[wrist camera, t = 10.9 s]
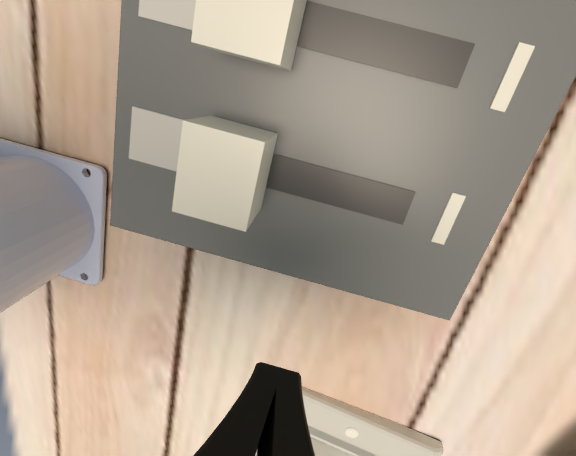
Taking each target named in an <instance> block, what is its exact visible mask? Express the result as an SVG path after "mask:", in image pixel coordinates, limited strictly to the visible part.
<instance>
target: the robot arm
mask: <svg viewBox="0 0 576 456" xmlns="http://www.w3.org/2000/svg"><path fill="white" fill-rule="evenodd" d="M87 169H89V170H90V172H91V176H90V175H89V174H88V173H87ZM106 185H107V173H106V171H105V169H104V168H103V167H101V166H99V165H96V164H92V163H88V162H85V161H81V160H77V159H74V158H70V157H66V156H63V155H59V154H56V153H52V152H48V151H45V150H41V149H37V148H34V147H30V146H27V145H23V144H19V143H16V142H12V141H8V140H5V139H1V138H0V313H1V312H2V311H4V310H5V309H7V308H8V307H10V306H11V305H13V304H14V303H16V302H17V301H19V300H20V299H22V298H24V297H25V296H27V295H28V294H30V293H31V292H33V291H34V290H36V289H37V288H39V287H40V286H42V285H43V284H45V283H47V282H48V281H50V280H51V279H53V278H54V277H56V276H57V275H59V276H62V277H66V278H69V279H73V280H76V281H80V282H83V283H87V284H90V285H97V284H99V283H100V282H101V281H102V275H103V253H104V230H105V208H106ZM85 274H86V275H87V276H88V277H87V276H86V275H85ZM256 452H257V456H315V453H314V450H313V446H312V441H311V437H310V433H309V428H308V424H307V419H306V414H305V408H304V402H303V395H302V386H301V376H300V374H299V373H297V372H294V371H290V370H287V369H283V368H280V367H276V366H273V365H269V364H266V363H262V362H260V363H257V364H256V366H255V369H254V371H253V374H252V376H251V378H250V379H249V381H248V383H247V385H246V386H245V388H244V390H243V391H242V393H241V395H240V396H239V398H238V399H237V401H236V402H235V403H234V405H233V406H232V408H231V409H230V411H229V412H228V414H227V415H226V416H225V418H224V419H223V420H222V422H221V423H220V424H219V425H218V427H217V428H216V429H215V430H214V432H213V433H212V434H211V435H210V437H209V438H208V439H207V440H206V442H205V443H204V444H203V445H202V446H201V448H200V449H199V450H198V451H197V452H196V453H195V454H194V456H255V455H256Z"/></svg>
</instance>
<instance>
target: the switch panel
mask: <svg viewBox="0 0 576 456" xmlns="http://www.w3.org/2000/svg"><path fill="white" fill-rule="evenodd" d="M195 4H196V0H122V4H121V24H120V43H119V63H118V82H117V102H116V121H115V141H114V161H113V180H112V200H111V219H110V225H111V226H114V227H118V228H122V229H125V230H129V231H132V232H136V233H139V234H143V235H147V236H150V237H154V238H157V239H161V240H164V241H168V242H172V243H175V244H179V245H182V246H186V247H189V248H193V249H197V250H200V251H204V252H207V253H211V254H214V255H218V256H222V257H225V258H229V259H232V260H236V261H239V262H243V263H247V264H250V265H254V266H257V267H261V268H264V269H268V270H272V271H275V272H279V273H282V274H286V275H289V276H293V277H297V278H300V279H304V280H307V281H311V282H314V283H318V284H321V285H325V286H329V287H332V288H336V289H339V290H343V291H346V292H350V293H354V294H357V295H361V296H364V297H368V298H371V299H375V300H379V301H382V302H386V303H389V304H393V305H396V306H400V307H404V308H407V309H411V310H414V311H418V312H421V313H425V314H429V315H432V316H436V317H439V318H443V319H446V320H450V318H451V317H452V315H453V313H454V311H455V309H456V307H457V305H458V303H459V301H460V299H461V297H462V295H463V293H464V291H465V289H466V287H467V285H468V284H469V282H470V280H471V278H472V276H473V274H474V272H475V270H476V268H477V266H478V264H479V262H480V260H481V258H482V256H483V254H484V253H485V251H486V249H487V247H488V245H489V243H490V241H491V239H492V237H493V235H494V233H495V231H496V229H497V227H498V225H499V223H500V221H501V220H502V218H503V216H504V214H505V212H506V210H507V208H508V206H509V204H510V202H511V200H512V198H513V196H514V194H515V192H516V190H517V188H518V187H519V185H520V183H521V181H522V179H523V177H524V175H525V173H526V171H527V169H528V167H529V165H530V163H531V161H532V159H533V157H534V155H535V154H536V152H537V150H538V148H539V146H540V144H541V142H542V140H543V138H544V136H545V134H546V132H547V130H548V128H549V126H550V124H551V122H552V121H553V119H554V117H555V115H556V113H557V111H558V109H559V107H560V105H561V103H562V101H563V99H564V97H565V95H566V93H567V91H568V89H569V88H570V86H571V84H572V82H573V80H574V78H575V76H576V0H307V2H306V6H305V11H304V15H303V19H302V24H301V28H300V33H299V37H298V42H297V46H296V50H295V55H294V59H293V64H292V68H291V71H288V70H285V69H281V68H277V67H273V66H269V65H266V64H262V63H258V62H254V61H251V60H247V59H243V58H239V57H235V56H232V55H228V54H224V53H220V52H217V51H214V50H212V49H209V48H206V47H204V46H201V45H198V44H195V43H193V42H191V37H192V29H193V21H194V13H195ZM205 116H215V117H218V118H222V119H226V120H230V121H233V122H237V123H241V124H244V125H248V126H252V127H256V128H259V129H263V130H267V131H270V132H274V133H278V136H277V140H276V144H275V149H274V153H273V158H272V162H271V166H270V171H269V175H268V180H267V184H266V188H265V193H264V197H263V202H262V206H261V209H260V211H259V212H258V214H257V215H256V217H255V218H254V220H253V221H252V223H251V225H250V226H249V228H248V229H247V231H246V232H244V231H241V230H237V229H234V228H230V227H226V226H223V225H219V224H216V223H212V222H208V221H205V220H201V219H198V218H194V217H190V216H187V215H183V214H180V213H176V212H172V205H173V197H174V189H175V180H176V172H177V164H178V156H179V148H180V140H181V132H182V123H183V120H187V119H193V118H199V117H205Z"/></svg>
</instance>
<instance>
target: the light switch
mask: <svg viewBox="0 0 576 456" xmlns="http://www.w3.org/2000/svg"><path fill="white" fill-rule="evenodd" d="M302 395H303V402H304V408H305V414H306V419H307V424H308V428H309V433H310V437H311V441H312V446H313V450H314V453H315V456H441V455H442V453H443V446H442V443H441V442H440V441H438V440H436V439H433V438H431V437H429V436H426V435H424V434H422V433H419V432H417V431H415V430H413V429H410V428H408V427H406V426H403V425H401V424H398V423H395V422H393V421H390V420H388V419H385V418H382V417H380V416H377V415H375V414H372V413H369V412H367V411H364V410H362V409H359V408H356V407H354V406H351V405H349V404H346V403H343V402H341V401H338V400H336V399H333V398H330V397H328V396H325V395H323V394H320V393H317V392H315V391H312V390H310V389H307V388H304V387H302ZM255 456H257V452H256V455H255Z"/></svg>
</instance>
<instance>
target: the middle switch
mask: <svg viewBox="0 0 576 456" xmlns="http://www.w3.org/2000/svg"><path fill="white" fill-rule="evenodd" d="M306 2H307V0H196V4H195V13H194V21H193V29H192V37H191V42H193V43H195V44H198V45H201V46H204V47H206V48H209V49H212V50H214V51H217V52H220V53H224V54H228V55H232V56H235V57H239V58H243V59H247V60H251V61H254V62H258V63H262V64H266V65H269V66H273V67H277V68H281V69H285V70H288V71H291V68H292V64H293V59H294V55H295V50H296V46H297V42H298V37H299V33H300V28H301V24H302V19H303V15H304V11H305V6H306Z"/></svg>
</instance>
